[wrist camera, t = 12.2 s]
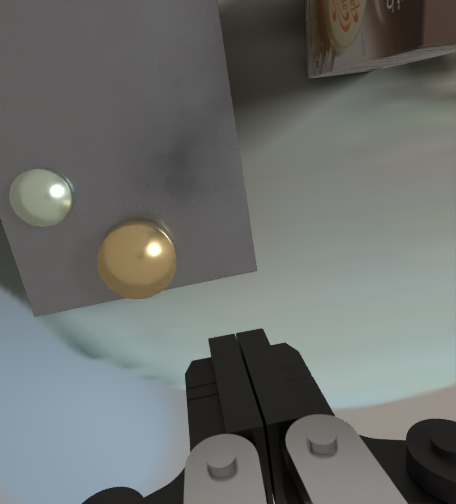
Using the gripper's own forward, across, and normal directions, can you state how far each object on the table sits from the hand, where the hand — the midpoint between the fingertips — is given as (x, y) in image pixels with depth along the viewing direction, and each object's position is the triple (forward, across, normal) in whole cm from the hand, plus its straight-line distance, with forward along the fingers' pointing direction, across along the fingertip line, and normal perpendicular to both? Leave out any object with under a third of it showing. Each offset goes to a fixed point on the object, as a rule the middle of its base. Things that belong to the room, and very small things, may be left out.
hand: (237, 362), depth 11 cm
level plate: (+20, +4, -6) cm, 21 cm away
